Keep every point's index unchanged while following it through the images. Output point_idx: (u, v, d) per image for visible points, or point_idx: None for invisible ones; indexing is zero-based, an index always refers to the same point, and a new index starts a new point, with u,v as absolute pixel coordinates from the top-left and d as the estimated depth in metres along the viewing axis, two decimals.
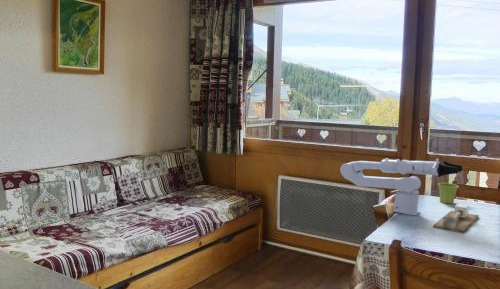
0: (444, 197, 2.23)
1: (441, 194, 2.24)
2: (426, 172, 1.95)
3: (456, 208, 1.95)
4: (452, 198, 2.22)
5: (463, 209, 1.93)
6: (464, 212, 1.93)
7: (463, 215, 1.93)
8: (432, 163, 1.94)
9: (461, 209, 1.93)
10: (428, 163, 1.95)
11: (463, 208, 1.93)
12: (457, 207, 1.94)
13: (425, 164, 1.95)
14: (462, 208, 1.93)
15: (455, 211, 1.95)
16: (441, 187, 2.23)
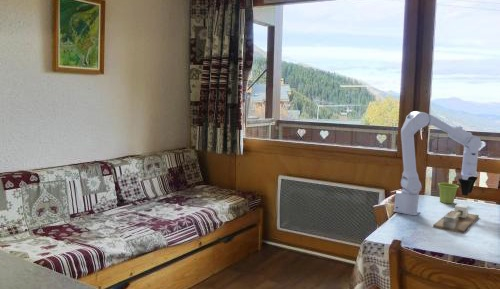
0: (444, 197, 2.23)
1: (441, 194, 2.24)
2: (464, 165, 1.99)
3: (456, 208, 1.95)
4: (452, 198, 2.22)
5: (463, 209, 1.93)
6: (464, 212, 1.93)
7: (463, 215, 1.93)
8: (473, 171, 1.98)
9: (461, 209, 1.93)
10: (473, 168, 1.97)
11: (463, 208, 1.93)
12: (457, 207, 1.94)
13: (472, 165, 1.97)
14: (462, 208, 1.93)
15: (455, 211, 1.95)
16: (441, 187, 2.23)
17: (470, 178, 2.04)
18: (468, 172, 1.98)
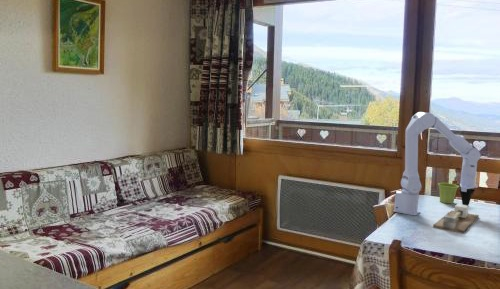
0: (444, 197, 2.23)
1: (441, 194, 2.24)
2: (463, 177, 2.00)
3: (456, 208, 1.95)
4: (452, 198, 2.22)
5: (463, 209, 1.93)
6: (464, 212, 1.93)
7: (463, 215, 1.93)
8: (472, 183, 1.98)
9: (461, 209, 1.93)
10: (472, 179, 1.98)
11: (463, 208, 1.93)
12: (457, 207, 1.94)
13: (471, 177, 1.98)
14: (462, 208, 1.93)
15: (455, 211, 1.95)
16: (441, 187, 2.23)
17: None
18: (467, 184, 1.98)
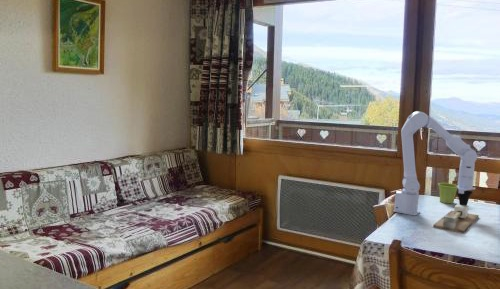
0: (444, 197, 2.23)
1: (441, 194, 2.24)
2: (460, 178, 1.96)
3: (456, 208, 1.94)
4: (452, 198, 2.22)
5: (463, 209, 1.92)
6: (464, 212, 1.92)
7: (463, 215, 1.93)
8: (470, 185, 1.94)
9: (461, 209, 1.93)
10: (470, 181, 1.94)
11: (463, 208, 1.92)
12: (457, 207, 1.94)
13: (469, 178, 1.94)
14: (462, 208, 1.93)
15: (454, 211, 1.94)
16: (441, 187, 2.23)
17: None
18: (464, 186, 1.94)
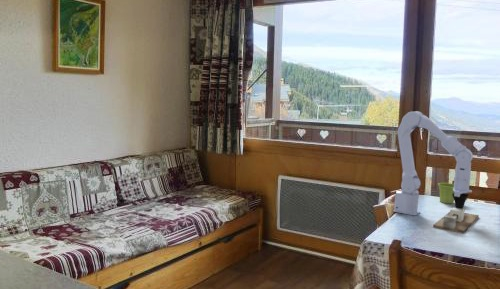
0: (444, 197, 2.23)
1: (441, 194, 2.24)
2: (456, 181, 1.90)
3: (451, 212, 1.88)
4: (452, 198, 2.22)
5: (459, 213, 1.86)
6: (460, 216, 1.86)
7: (459, 219, 1.86)
8: (466, 187, 1.88)
9: (457, 213, 1.87)
10: (466, 184, 1.88)
11: (459, 212, 1.86)
12: (452, 211, 1.88)
13: (465, 181, 1.88)
14: (458, 212, 1.87)
15: (450, 215, 1.88)
16: (441, 187, 2.23)
17: None
18: (460, 188, 1.88)
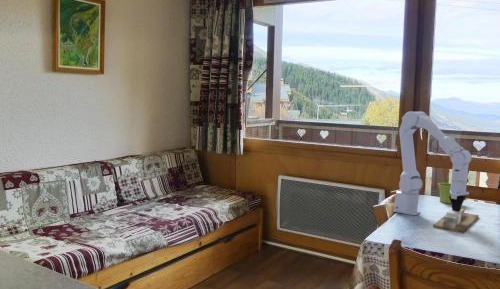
0: (444, 197, 2.23)
1: (441, 194, 2.24)
2: (453, 183, 1.85)
3: (448, 215, 1.83)
4: None
5: (455, 216, 1.82)
6: (456, 219, 1.82)
7: None
8: (463, 190, 1.83)
9: (453, 216, 1.82)
10: (463, 186, 1.83)
11: (455, 215, 1.82)
12: (449, 213, 1.83)
13: (462, 183, 1.83)
14: (454, 215, 1.82)
15: None
16: (441, 187, 2.23)
17: None
18: (457, 190, 1.84)
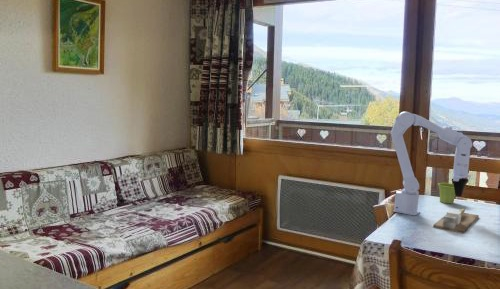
0: (444, 197, 2.23)
1: (441, 194, 2.24)
2: (455, 166, 1.95)
3: (448, 215, 1.83)
4: (452, 198, 2.22)
5: (455, 216, 1.82)
6: (456, 219, 1.81)
7: None
8: (465, 173, 1.93)
9: (453, 216, 1.82)
10: (465, 169, 1.93)
11: (455, 215, 1.82)
12: (449, 213, 1.83)
13: (464, 166, 1.93)
14: (454, 215, 1.82)
15: None
16: (441, 187, 2.23)
17: None
18: (459, 173, 1.93)
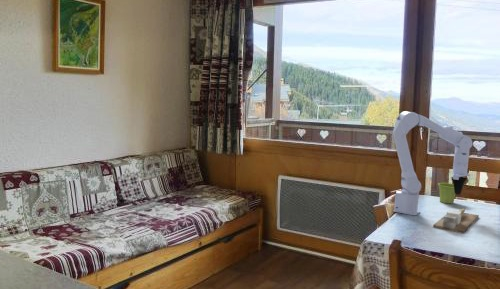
0: (444, 197, 2.23)
1: (441, 194, 2.24)
2: (455, 165, 1.99)
3: (448, 215, 1.83)
4: (452, 198, 2.22)
5: (455, 216, 1.82)
6: (456, 219, 1.81)
7: None
8: (464, 171, 1.97)
9: (453, 216, 1.82)
10: (464, 167, 1.97)
11: (455, 215, 1.82)
12: (449, 213, 1.83)
13: (463, 165, 1.97)
14: (454, 215, 1.82)
15: None
16: (441, 187, 2.23)
17: None
18: (459, 172, 1.97)
